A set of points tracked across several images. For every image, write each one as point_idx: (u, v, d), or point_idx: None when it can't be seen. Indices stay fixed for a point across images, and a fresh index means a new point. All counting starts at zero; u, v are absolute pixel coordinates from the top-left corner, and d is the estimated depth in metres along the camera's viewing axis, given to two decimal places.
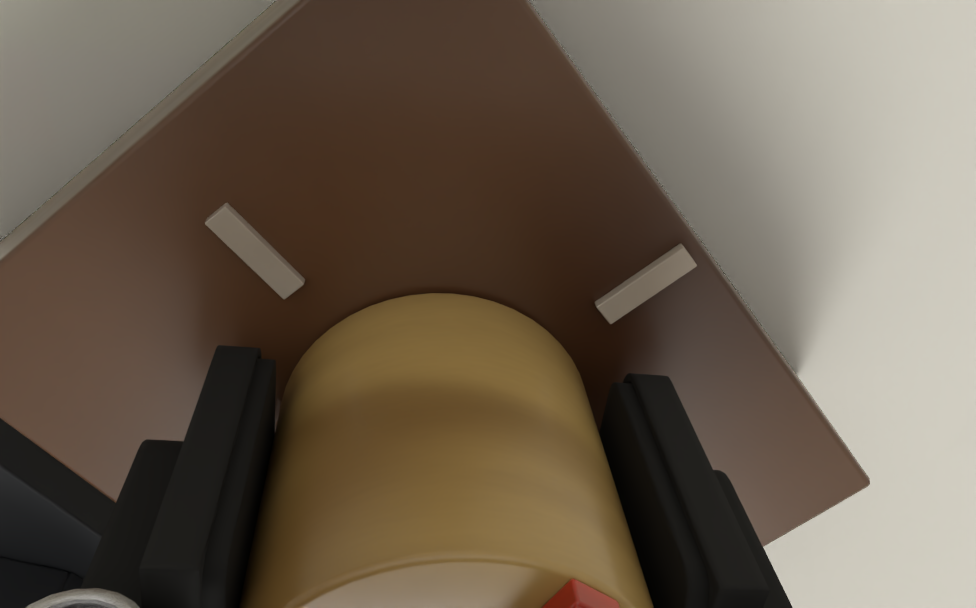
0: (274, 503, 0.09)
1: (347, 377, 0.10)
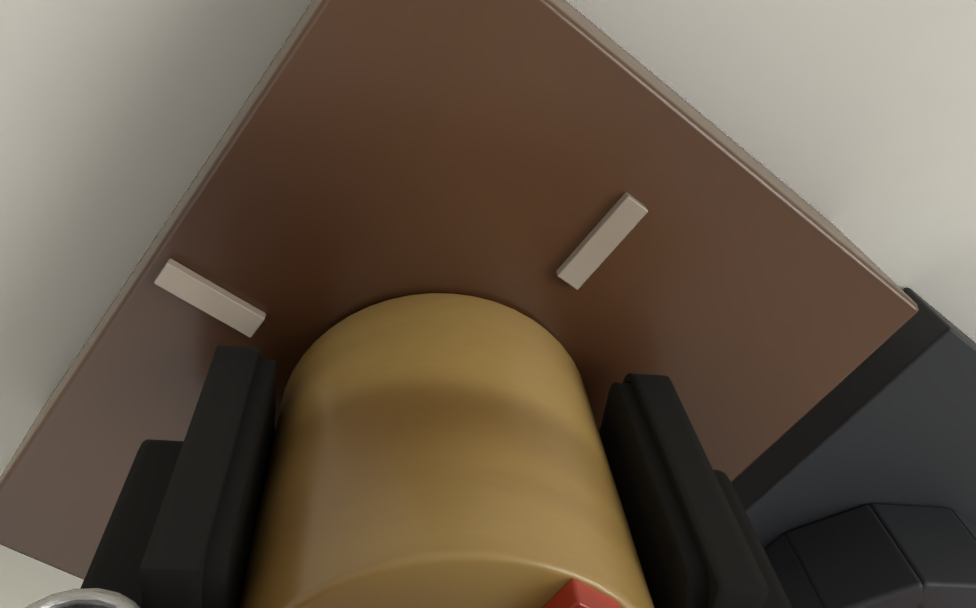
0: (274, 503, 0.09)
1: (347, 377, 0.10)
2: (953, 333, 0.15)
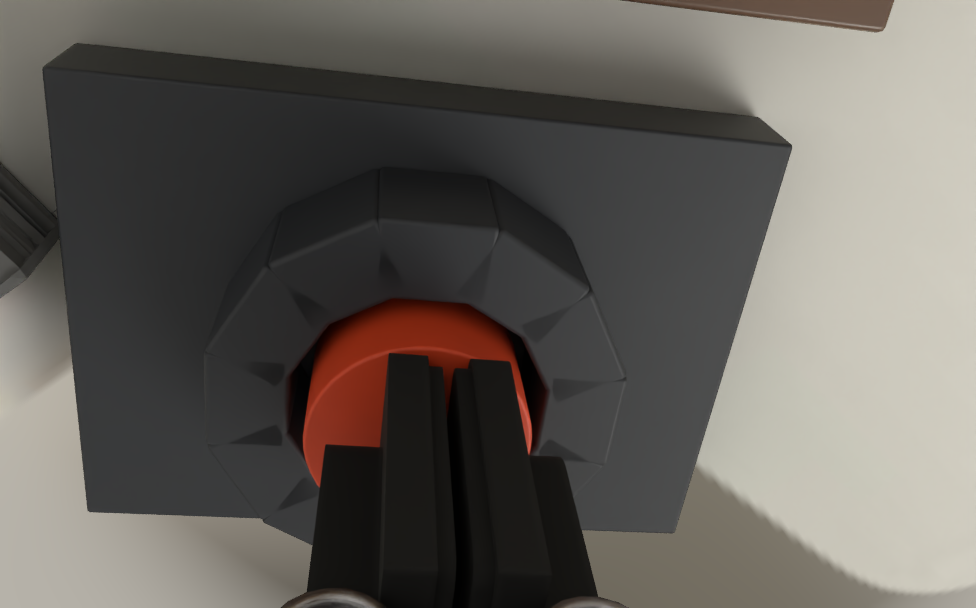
0: None
1: None
2: (790, 151, 0.14)
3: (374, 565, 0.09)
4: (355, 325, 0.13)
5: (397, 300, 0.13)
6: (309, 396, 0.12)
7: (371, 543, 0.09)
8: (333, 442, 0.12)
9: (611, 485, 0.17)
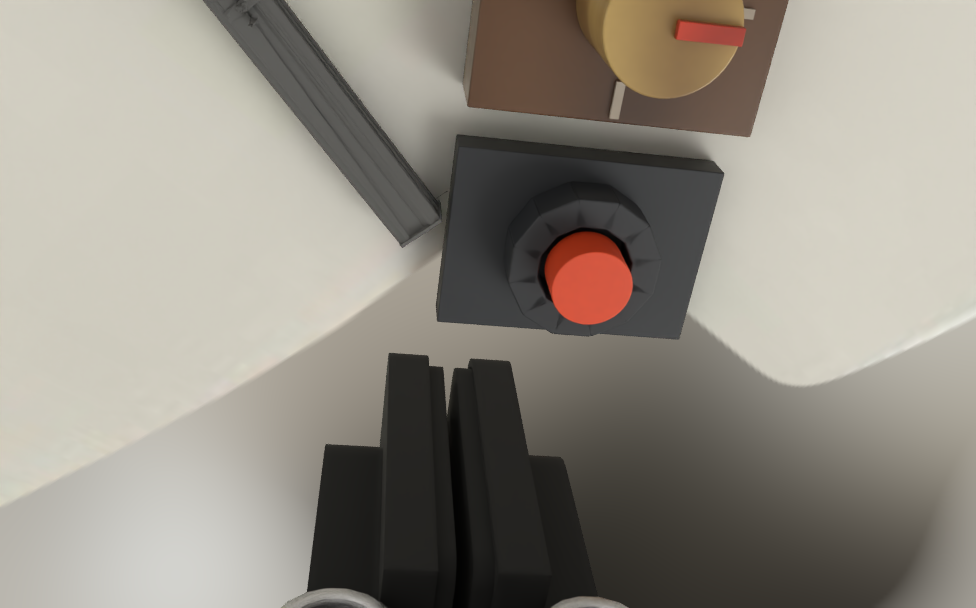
0: None
1: None
2: (723, 175, 0.36)
3: (374, 565, 0.09)
4: (568, 246, 0.35)
5: (582, 237, 0.35)
6: (552, 271, 0.35)
7: (371, 543, 0.09)
8: (562, 287, 0.34)
9: (652, 315, 0.39)
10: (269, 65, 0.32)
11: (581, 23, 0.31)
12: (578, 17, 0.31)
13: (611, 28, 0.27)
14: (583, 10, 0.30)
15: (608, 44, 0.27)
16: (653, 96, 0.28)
